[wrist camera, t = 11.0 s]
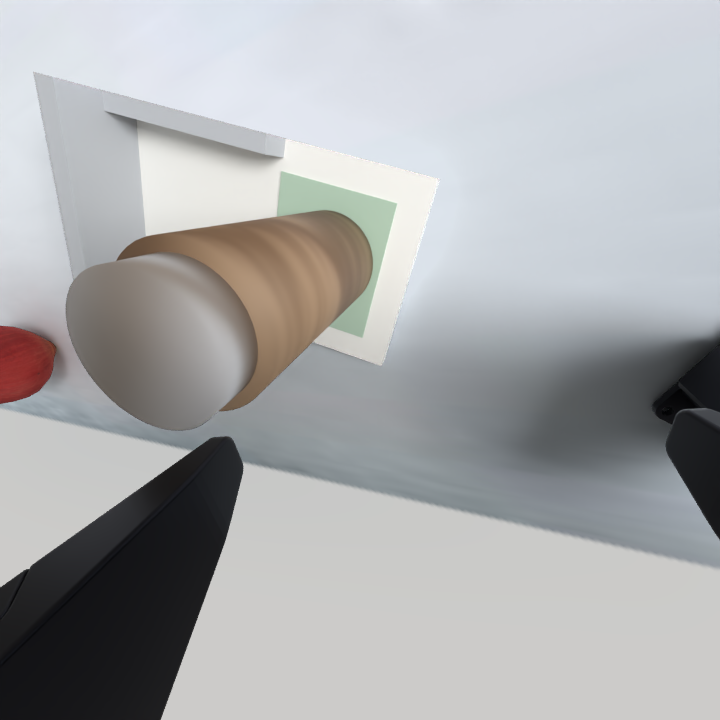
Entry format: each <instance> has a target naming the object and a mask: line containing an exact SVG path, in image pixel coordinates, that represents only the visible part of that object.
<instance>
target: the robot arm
mask: <svg viewBox="0 0 720 720" xmlns="http://www.w3.org/2000/svg"><path fill="white" fill-rule="evenodd" d="M665 407H670V408H669V409H668V410H667V411H662V409H663V408H665ZM652 410H653V412H654V413H655V415H656V416H657V417H659V418H660V419H662V420H664V421H666V422H668V423H670V424H672V426H671V429H670V432H669V435H668V437H667V440H666V451H667V454H668V456H669V458H670V459H671V461H672V463H673V464H674V466H675V468H676V469H677V471H678V473H679V474H680V476H681V478H682V479H683V481H684V483H685V484H686V486H687V488H688V489H689V491H690V493H691V495H692V496H693V498H694V500H695V501H696V503H697V505H698V506H699V508H700V510H701V511H702V513H703V515H704V516H705V518H706V520H707V521H708V523H709V524H710V526H711V527H712V529H713V531H714V532H715V534H716V535H717V536H718V538H719V539H720V345H719V346H717V347H716V348H715V349H714V350H713V351H712V352H711V353H709V354H708V355H707V356H706V357H705V358H704V359H703V360H701V361H700V362H699V363H698V364H697V365H696V366H695V367H693V368H692V369H691V370H690V371H689V372H688V373H687V374H685V375H684V376H683V377H682V378H681V379H680V380H679V382H677V383H676V384H675V385H674V386H673V387H672V388H671V389H669V390H668V391H667V392H666V393H665V394H664V395H663V396H661V397H660V398H659V399H658V400H657V401H656V402H655V403H654V404H653V405H652ZM242 474H243V463H242V460H241V457H240V455H239V453H238V450H237V448H236V446H235V443H234V441H233V439H232V438H230V437H227V436H225V437H213V438H210V439H209V440H207V441H206V442H205V443H203V444H202V445H200V446H199V447H198V448H196V449H195V450H193V451H192V452H191V453H189V454H188V455H186V456H185V457H184V458H182V459H181V460H179V461H178V462H177V463H175V464H174V465H172V466H171V467H170V468H168V469H167V470H165V471H164V472H162V473H161V474H160V475H158V476H157V477H155V478H154V479H153V480H151V481H150V482H148V483H147V484H146V485H144V486H143V487H141V488H140V489H138V490H137V491H136V492H134V493H133V494H131V495H130V496H129V497H127V498H126V499H124V500H123V501H122V502H120V503H119V504H117V505H116V506H115V507H113V508H112V509H110V510H109V511H107V512H106V513H105V514H103V515H102V516H100V517H99V518H98V519H96V520H95V521H93V522H92V523H91V524H89V525H88V526H86V527H85V528H84V529H82V530H81V531H79V532H78V533H76V534H75V535H74V536H72V537H71V538H70V539H68V540H67V541H66V542H64V543H63V544H61V545H60V546H58V547H57V548H55V549H54V550H53V551H51V552H50V553H48V554H47V555H45V556H44V557H43V558H41V559H40V560H38V561H37V562H36V563H34V564H33V565H32V566H31V567H30V569H26V570H24V571H23V572H21V573H20V574H19V575H17V576H16V577H14V578H13V579H12V580H10V581H9V582H7V583H6V584H5V585H3V586H2V587H0V720H161V717H162V715H163V712H164V709H165V706H166V704H167V701H168V698H169V695H170V692H171V690H172V687H173V684H174V681H175V679H176V676H177V673H178V671H179V668H180V665H181V662H182V659H183V657H184V654H185V651H186V648H187V646H188V643H189V640H190V637H191V635H192V632H193V629H194V626H195V624H196V621H197V618H198V615H199V612H200V610H201V607H202V604H203V602H204V599H205V596H206V593H207V590H208V588H209V585H210V582H211V579H212V577H213V574H214V571H215V568H216V566H217V563H218V560H219V557H220V554H221V552H222V549H223V546H224V543H225V540H226V537H227V533H228V530H229V526H230V522H231V518H232V514H233V510H234V506H235V502H236V498H237V495H238V491H239V486H240V482H241V479H242Z"/></svg>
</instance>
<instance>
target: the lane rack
mask: <svg viewBox="0 0 720 720" xmlns="http://www.w3.org/2000/svg"><path fill="white" fill-rule="evenodd" d="M33 74H34V79H35V84H36V89H37V94H38V99H39V105H40V110H41V115H42V120H43V125H44V130H45V136H46V141H47V146H48V151H49V156H50V161H51V167H52V172H53V177H54V182H55V187H56V192H57V198H58V203H59V208H60V213H61V218H62V223H63V229H64V234H65V239H66V244H67V249H68V254H69V260H70V265H71V270H72V275H73V280H74V279H75V278H76V277H77V276H78V275H79V274H80V273H81V272H83V271H84V270H85V269H87V268H89V267H92V266H94V265H99V264H103V263H108V262H113V261H116V260H117V258H118V257H119V255H120V253H121V252H122V251H123V250H124V249H125V248H126V247H127V246H128V245H130V244H131V243H133V242H134V241H136V240H138V239H140V238H143V237H146V236H150V235H155V234H162V233H169V232H176V231H183V230H189V229H196V228H203V227H210V226H217V225H223V224H230V223H237V222H244V221H251V220H258V219H264V218H271V217H278V216H285V215H292V214H298V213H305V212H312V211H319V210H330V211H335V212H338V213H341V214H343V215H345V216H347V217H349V218H350V219H351V220H353V221H354V222H355V223H356V224H357V225H358V226H359V227H360V228H361V230H362V231H363V232H364V234H365V236H366V237H367V239H368V242H369V244H370V247H371V250H372V256H373V270H372V275H371V279H370V281H369V284H368V286H367V288H366V289H365V291H364V292H363V293H362V294H361V295H360V296H359V297H358V298H357V299H356V300H355V301H354V302H353V303H352V304H351V305H350V306H349V307H348V308H347V309H346V310H345V311H344V312H343V313H342V314H341V315H340V316H339V317H338V318H337V319H336V320H335V321H334V322H333V323H332V324H331V325H330V326H329V327H328V328H327V329H326V330H325V331H323V332H322V333H321V334H320V335H319V336H318V337H317V338H316V339H315V340H314V341H313V342H314V343H316V344H319V345H322V346H325V347H328V348H331V349H334V350H336V351H339V352H342V353H345V354H348V355H351V356H354V357H356V358H359V359H362V360H365V361H368V362H371V363H374V364H376V365H379V366H382V364H383V362H384V360H385V358H386V354H387V351H388V348H389V345H390V341H391V338H392V335H393V332H394V328H395V325H396V322H397V318H398V315H399V312H400V309H401V305H402V302H403V299H404V296H405V292H406V289H407V286H408V282H409V279H410V276H411V273H412V269H413V266H414V263H415V260H416V256H417V253H418V250H419V246H420V243H421V240H422V237H423V233H424V230H425V227H426V224H427V220H428V217H429V214H430V210H431V207H432V204H433V201H434V197H435V194H436V191H437V187H438V184H439V181H440V179H438V178H434V177H430V176H426V175H422V174H419V173H415V172H411V171H407V170H403V169H400V168H396V167H392V166H388V165H384V164H381V163H377V162H373V161H369V160H365V159H362V158H358V157H354V156H350V155H346V154H343V153H339V152H335V151H331V150H327V149H324V148H320V147H316V146H312V145H308V144H305V143H301V142H297V141H293V140H289V139H286V138H282V137H278V136H274V135H271V134H267V133H263V132H259V131H256V130H252V129H248V128H244V127H240V126H237V125H233V124H229V123H225V122H221V121H218V120H214V119H210V118H206V117H202V116H199V115H195V114H191V113H187V112H183V111H180V110H176V109H172V108H168V107H164V106H161V105H157V104H153V103H149V102H145V101H142V100H138V99H134V98H130V97H126V96H123V95H119V94H115V93H111V92H107V91H104V90H100V89H96V88H92V87H89V86H85V85H81V84H77V83H74V82H70V81H66V80H62V79H59V78H55V77H51V76H47V75H43V74H40V73H36V72H33Z"/></svg>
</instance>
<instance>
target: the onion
mask: <svg viewBox="0 0 720 720" xmlns="http://www.w3.org/2000/svg"><path fill="white" fill-rule="evenodd" d="M55 353H56V348H55V346H54V344H53V343H51V342H50V341H48V340H45V339H44V338H42V337H40V336H38V335H36V334H34V333H32V332H29V331H26V330H23V329H19V328H16V327H8V326H0V404H2V403H8V402H13V401H17V400H20V399H23V398H27V397H29V396H31V395H33V394H34V393H36V392H38V391H39V390H40V389H41V388H42V387H43V386H44V384H45V383H46V382H47V381H48V379H49V378H50V376H51V373H52V370H53V363H54V356H55Z"/></svg>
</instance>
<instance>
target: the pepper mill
mask: <svg viewBox="0 0 720 720" xmlns="http://www.w3.org/2000/svg"><path fill="white" fill-rule="evenodd" d="M372 270H373V256H372V250H371V247H370V244H369V242H368V239H367V237H366V236H365V234H364V232H363V231H362V230H361V228H360V227H359V226H358V225H357V224H356V223H355V222H354V221H353V220H351V219H350V218H349V217H347V216H345V215H343V214H341V213H338V212H335V211H330V210H319V211H312V212H305V213H298V214H292V215H285V216H278V217H271V218H264V219H258V220H251V221H244V222H237V223H230V224H223V225H217V226H210V227H203V228H196V229H189V230H183V231H176V232H169V233H162V234H155V235H150V236H146V237H143V238H140V239H138V240H136V241H134V242H133V243H131V244H130V245H128V246H127V247H126V248H125V249H124V250H123V251H122V252H121V253H120V255H119V257H118V258H117V260H116V261H113V262H108V263H103V264H99V265H94V266H92V267H89V268H87V269H85V270H84V271H83V272H81V273H80V274H79V275H78V276H77V277H76V278H75V279H74V281H73V283H72V284H71V286H70V288H69V292H68V295H67V300H66V320H67V327H68V331H69V335H70V338H71V341H72V344H73V346H74V348H75V351H76V353H77V355H78V357H79V359H80V361H81V362H82V364H83V366H84V367H85V369H86V370H87V372H88V374H89V375H90V376H91V378H92V379H93V380H94V382H95V383H96V384H97V385H98V386H99V387H100V389H101V390H102V391H103V392H104V393H105V394H106V395H107V396H108V397H109V398H110V399H111V400H112V401H113V402H115V403H116V404H117V405H118V406H119V407H121V408H122V409H123V410H125V411H126V412H128V413H129V414H131V415H132V416H134V417H136V418H137V419H139V420H141V421H143V422H145V423H147V424H150V425H152V426H155V427H158V428H162V429H167V430H173V431H183V430H190V429H194V428H197V427H199V426H201V425H203V424H204V423H205V422H207V421H208V420H209V419H210V418H211V417H213V416H214V415H215V414H216V413H217V412H218V411H228V410H234V409H237V408H240V407H242V406H244V405H246V404H248V403H249V402H251V401H252V400H254V399H255V398H256V397H257V396H258V395H259V394H260V393H261V392H262V391H263V390H264V389H265V388H266V387H267V386H268V385H269V384H270V383H271V382H272V381H273V380H274V379H275V378H276V377H277V376H278V375H279V374H280V373H281V372H282V371H283V370H285V369H286V368H287V367H288V366H289V365H290V364H291V363H292V362H293V361H294V360H295V359H296V358H297V357H298V356H299V355H300V354H301V353H302V352H303V351H304V350H305V349H306V348H307V347H308V346H309V345H310V344H311V343H312V342H313V341H314V340H315V339H316V338H317V337H318V336H319V335H320V334H321V333H322V332H323V331H325V330H326V329H327V328H328V327H329V326H330V325H331V324H332V323H333V322H334V321H335V320H336V319H337V318H338V317H339V316H340V315H341V314H342V313H343V312H344V311H345V310H346V309H347V308H348V307H349V306H350V305H351V304H352V303H353V302H354V301H355V300H356V299H357V298H358V297H359V296H360V295H361V294H362V293H363V292H364V291H365V289H366V288H367V286H368V284H369V281H370V279H371V275H372Z"/></svg>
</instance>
